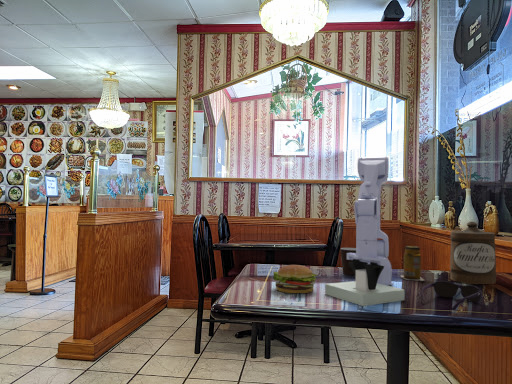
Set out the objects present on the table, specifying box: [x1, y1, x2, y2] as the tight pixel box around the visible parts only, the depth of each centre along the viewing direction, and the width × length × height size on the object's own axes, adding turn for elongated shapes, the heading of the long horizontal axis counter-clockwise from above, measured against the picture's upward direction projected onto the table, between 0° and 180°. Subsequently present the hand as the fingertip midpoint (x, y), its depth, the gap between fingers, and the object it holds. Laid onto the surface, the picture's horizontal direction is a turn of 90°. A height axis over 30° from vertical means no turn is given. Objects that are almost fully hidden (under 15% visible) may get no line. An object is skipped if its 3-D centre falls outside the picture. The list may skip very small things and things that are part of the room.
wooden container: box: [449, 221, 497, 285], centre depth 147 cm, size 15×15×22 cm
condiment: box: [400, 245, 425, 282], centre depth 150 cm, size 7×8×12 cm
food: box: [273, 264, 318, 295], centre depth 126 cm, size 14×14×8 cm
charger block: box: [355, 269, 376, 292], centre depth 113 cm, size 4×4×6 cm
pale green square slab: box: [324, 280, 405, 307], centre depth 117 cm, size 16×16×3 cm
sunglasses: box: [420, 280, 482, 311], centre depth 112 cm, size 14×16×5 cm
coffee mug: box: [340, 247, 356, 277], centre depth 156 cm, size 12×9×10 cm
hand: (366, 287), depth 113 cm, fingers closed on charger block, 4 cm apart
